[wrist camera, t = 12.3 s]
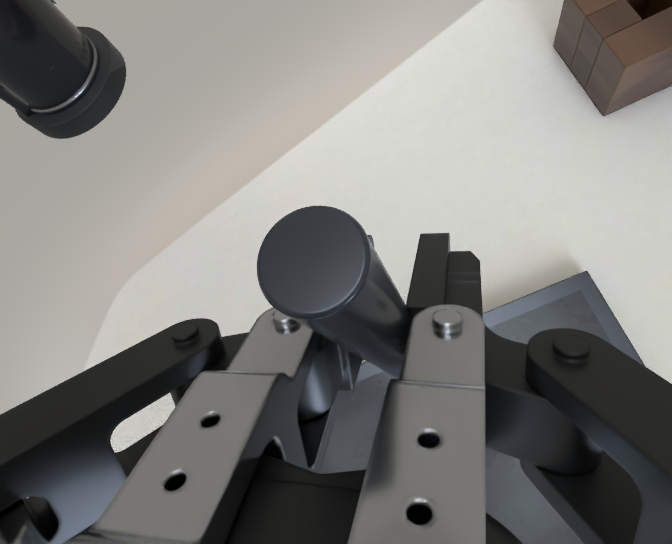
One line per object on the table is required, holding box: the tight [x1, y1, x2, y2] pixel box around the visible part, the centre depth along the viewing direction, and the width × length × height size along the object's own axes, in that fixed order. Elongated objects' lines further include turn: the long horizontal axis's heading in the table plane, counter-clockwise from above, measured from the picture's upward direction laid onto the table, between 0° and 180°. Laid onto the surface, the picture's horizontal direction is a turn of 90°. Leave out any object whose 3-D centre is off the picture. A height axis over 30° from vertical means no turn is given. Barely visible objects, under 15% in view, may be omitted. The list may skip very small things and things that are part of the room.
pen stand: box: [553, 0, 672, 116], centre depth 31 cm, size 7×7×5 cm
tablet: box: [320, 271, 645, 544], centre depth 29 cm, size 24×16×1 cm, turn 110°
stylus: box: [257, 206, 411, 379], centre depth 12 cm, size 1×1×14 cm
